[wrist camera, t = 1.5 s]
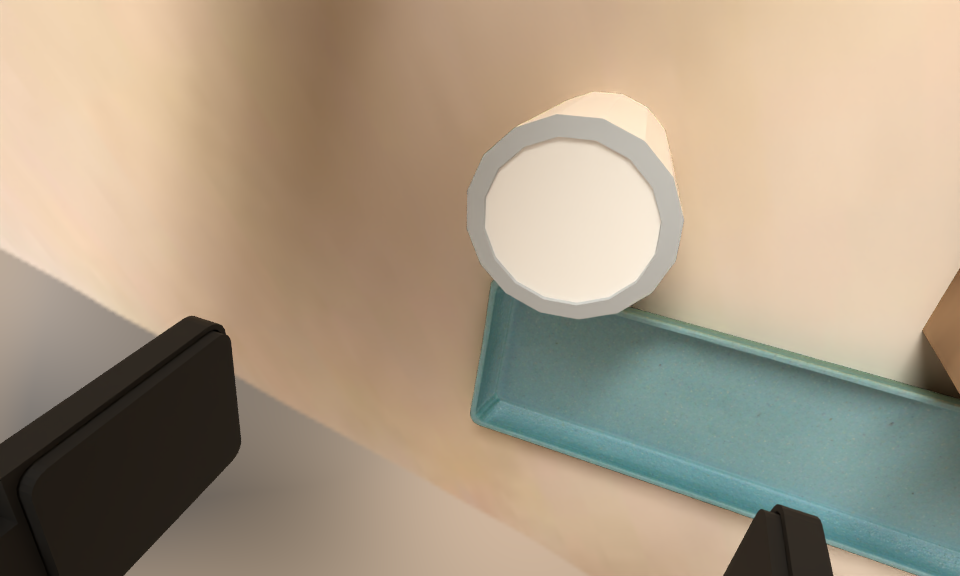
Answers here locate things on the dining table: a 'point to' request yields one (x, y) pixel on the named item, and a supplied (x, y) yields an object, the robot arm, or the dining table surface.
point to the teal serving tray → (732, 425)
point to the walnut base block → (947, 330)
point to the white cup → (578, 207)
